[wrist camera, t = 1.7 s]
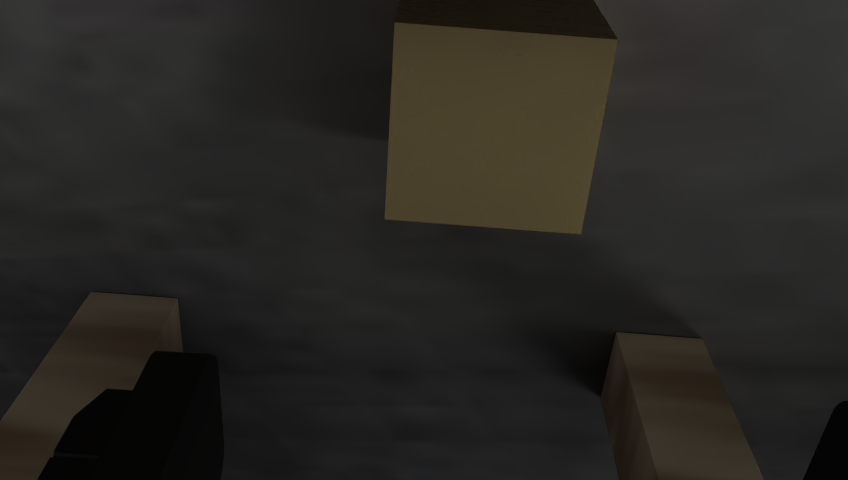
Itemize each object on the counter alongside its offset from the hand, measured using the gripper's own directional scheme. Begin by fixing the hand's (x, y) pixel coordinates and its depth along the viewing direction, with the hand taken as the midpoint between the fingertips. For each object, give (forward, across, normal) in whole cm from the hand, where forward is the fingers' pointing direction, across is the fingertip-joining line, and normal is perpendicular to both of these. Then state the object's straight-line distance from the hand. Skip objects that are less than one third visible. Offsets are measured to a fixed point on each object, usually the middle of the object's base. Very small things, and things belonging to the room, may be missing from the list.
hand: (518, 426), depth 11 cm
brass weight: (+15, 0, 0) cm, 15 cm away
